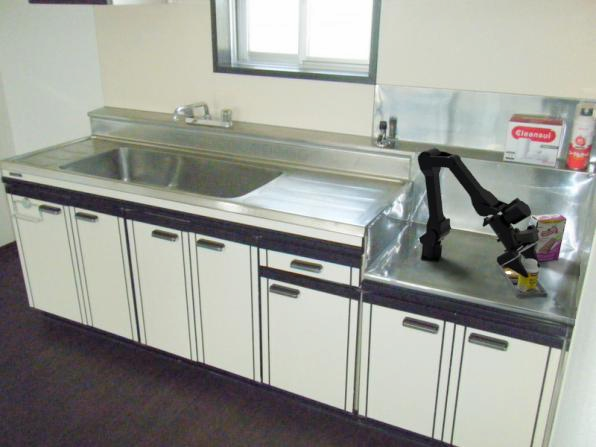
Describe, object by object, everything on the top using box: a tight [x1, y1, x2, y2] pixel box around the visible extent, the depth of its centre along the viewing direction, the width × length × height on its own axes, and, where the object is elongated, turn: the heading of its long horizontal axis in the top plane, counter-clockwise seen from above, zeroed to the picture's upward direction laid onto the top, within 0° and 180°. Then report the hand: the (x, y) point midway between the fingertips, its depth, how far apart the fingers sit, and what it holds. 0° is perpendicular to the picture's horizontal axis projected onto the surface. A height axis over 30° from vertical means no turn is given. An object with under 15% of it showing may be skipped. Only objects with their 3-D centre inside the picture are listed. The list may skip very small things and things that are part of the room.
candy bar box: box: [523, 213, 567, 263], centre depth 203 cm, size 11×5×16 cm, turn 100°
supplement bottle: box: [517, 258, 540, 292], centre depth 184 cm, size 6×6×10 cm
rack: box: [495, 261, 548, 298], centre depth 191 cm, size 22×10×1 cm, turn 178°
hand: (533, 272), depth 183 cm, fingers open, 8 cm apart
